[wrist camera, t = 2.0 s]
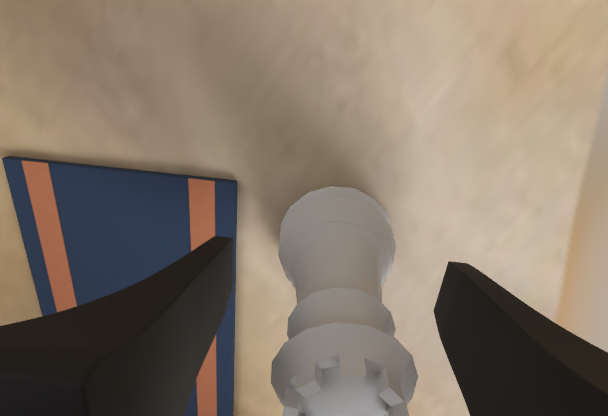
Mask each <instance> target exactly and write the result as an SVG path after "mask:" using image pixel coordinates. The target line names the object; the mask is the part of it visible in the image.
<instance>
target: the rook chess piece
mask: <svg viewBox="0 0 608 416" xmlns="http://www.w3.org/2000/svg"><path fill="white" fill-rule="evenodd" d="M393 236H394V234H393V230H392V226H391V222H390V218H389V215H388V214H387V212H386V211H385V210H384V209H383V208H382V206H381V205H380V204H379V203H378V202H377V200H376V199H375V198H373V197H371V196H369V195H367V194H365V193H363V192H361V191H359V190H357V189H355V188H348V187H337V186H328V187H325V188H322V189H318V190H315V191H311V192H308V193H306V194H305V195H304V196H303V197H301V198H300V199H299V200H298V201H296V202H295V203H294V204H292V205H291V206H290V208H289V210H288V211H287V213H286V215H285V217H284V219H283V221H282V223H281V225H280V238H279V258H280V261H281V264H282V266H283V269H284V271H285V274H286V276H287V278H288V279H289V280H290V281H291V282H292V285H293V287H294V288H295V289H296V296H297V305H296V307H295V309H294V310H293V312H292V313H291V315H290V317H289V318H288V331H287V335H288V338H289V340H288V341H287V342H285V343H284V344H283V346H282V347H281V349H280V351H279V352H278V354H277V355H276V357H275V358H274V360H273V361H272V372H271V384H272V386H273V388H274V390H275V392H276V394H277V396H278V398H279V400H280V402H281V403H282V405H283V406H284V411H283V416H409V414H408V409H407V404H408V403H409V401H410V400H411V398H412V396H413V393H414V389H415V385H416V382H417V378H418V375H417V372H416V368H415V364H414V361H413V357H412V355H411V354H410V353H409V352H408V351H407V350H406V349H405V348H404V347H403V346H402V344H401V343H400V342H399V341H398V340H397V339H396V338H395V337H394V333H395V326H394V322H393V319H392V316H391V312H390V311H389V310H388V309H387V308H386V307H385V306H384V305H383V304H382V284H383V283H384V282H385V280H386V277H387V276H388V275H389V273H390V272H391V268H392V264H393V259H394V254H395V249H396V244H395V240H394V237H393Z"/></svg>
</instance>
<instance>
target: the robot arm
mask: <svg viewBox="0 0 608 416" xmlns="http://www.w3.org/2000/svg"><path fill="white" fill-rule="evenodd" d="M232 280H233V238H230V237H221V236H214V237H212V238H211V239H209V240H208V241H206V242H204V243H203V244H202V245H200V246H199V247H197V248H196V249H194V250H193V251H191V252H189V253H188V254H186V255H185V256H183V257H182V258H180V259H179V260H177V261H175V262H174V263H172V264H170V265H169V266H167V267H165V268H163V269H162V270H160V271H158V272H156V273H155V274H153V275H151V276H149V277H147V278H145V279H143V280H141V281H139V282H137V283H135V284H133V285H131V286H128V287H126V288H124V289H122V290H119V291H117V292H115V293H112V294H109V295H107V296H104V297H101V298H99V299H96V300H93V301H91V302H88V303H85V304H82V305H79V306H76V307H73V308H70V309H67V310H63V311H60V312H56V313H53V314H49V315H46V316H42V317H38V318H34V319H30V320H26V321H21V322H17V323H12V324H8V325H4V326H0V416H184V414H185V411H186V408H187V405H188V402H189V399H190V396H191V393H192V390H193V387H194V384H195V381H196V379H197V376H198V374H199V371H200V369H201V367H202V364H203V362H204V360H205V358H206V355H207V353H208V351H209V349H210V346H211V344H212V342H213V340H214V338H215V335H216V333H217V331H218V329H219V326H220V324H221V322H222V319H223V317H224V315H225V312H226V309H227V305H228V302H229V298H230V295H231V291H232ZM434 314H435V318H436V323H437V327H438V331H439V335H440V339H441V341H442V344H443V347H444V349H445V352H446V354H447V357H448V359H449V362H450V364H451V367H452V369H453V372H454V374H455V377H456V379H457V382H458V384H459V387H460V389H461V392H462V394H463V397H464V399H465V402H466V405H467V407H468V410H469V413H470V416H608V353H607V352H605V351H604V350H602V349H599V348H598V347H596V346H594V345H592V344H590V343H589V342H587V341H585V340H583V339H581V338H580V337H578V336H576V335H574V334H572V333H571V332H569V331H567V330H565V329H564V328H562V327H561V326H559V325H557V324H556V323H554V322H553V321H551V320H549V319H548V318H546V317H545V316H543V315H542V314H540V313H539V312H537V311H536V310H534V309H533V308H531V307H530V306H528V305H527V304H525V303H524V302H522V301H521V300H519V299H518V298H517V297H515V296H514V295H512V294H511V293H510V292H508V291H507V290H505V289H504V288H503V287H501V286H500V285H498V284H497V283H496V282H494V281H493V280H492V279H490V278H489V277H487V276H486V275H484V274H483V273H482V272H480V271H479V270H477V269H476V268H474V267H473V266H471V265H469V264H467V263H459V262H448V265H447V269H446V272H445V275H444V278H443V282H442V285H441V288H440V292H439V295H438V298H437V302H436V305H435V308H434Z"/></svg>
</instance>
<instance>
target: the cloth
mask: <svg viewBox="0 0 608 416" xmlns="http://www.w3.org/2000/svg"><path fill="white" fill-rule="evenodd" d="M2 160H3V164H4V168H5V171H6V175H7V179H8V183H9V187H10V191H11V195H12V199H13V203H14V206H15V210H16V214H17V218H18V222H19V226H20V230H21V234H22V238H23V241H24V245H25V249H26V253H27V257H28V261H29V265H30V269H31V273H32V276H33V280H34V284H35V288H36V292H37V296H38V300H39V304H40V308H41V311H42V315H43V316H46V315H49V314H53V313H56V312H60V311H63V310H67V309H70V308H73V307H76V306H79V305H82V304H85V303H88V302H91V301H93V300H96V299H99V298H101V297H104V296H107V295H109V294H112V293H115V292H117V291H119V290H122V289H124V288H126V287H128V286H131V285H133V284H135V283H137V282H139V281H141V280H143V279H145V278H147V277H149V276H151V275H153V274H155V273H156V272H158V271H160V270H162V269H163V268H165V267H167V266H169V265H170V264H172V263H174V262H175V261H177V260H179V259H180V258H182V257H183V256H185V255H186V254H188V253H189V252H191V251H193V250H194V249H196V248H197V247H199V246H200V245H202V244H203V243H204V242H206V241H208V240H209V239H211V238H212V237H214V236H221V237H230V238H233V280H232V291H231V295H230V298H229V302H228V305H227V309H226V312H225V315H224V317H223V319H222V322H221V324H220V326H219V329H218V331H217V333H216V335H215V338H214V340H213V342H212V344H211V346H210V349H209V351H208V353H207V355H206V358H205V360H204V362H203V364H202V367H201V369H200V371H199V374H198V376H197V379H196V381H195V384H194V387H193V390H192V393H191V396H190V399H189V402H188V405H187V408H186V411H185V414H184V416H233V394H234V339H235V283H236V228H237V181H234V180H225V179H216V178H206V177H197V176H188V175H178V174H169V173H160V172H150V171H141V170H132V169H122V168H113V167H104V166H94V165H85V164H76V163H66V162H57V161H48V160H38V159H29V158H20V157H10V156H7V157H4V158H2Z"/></svg>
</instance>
